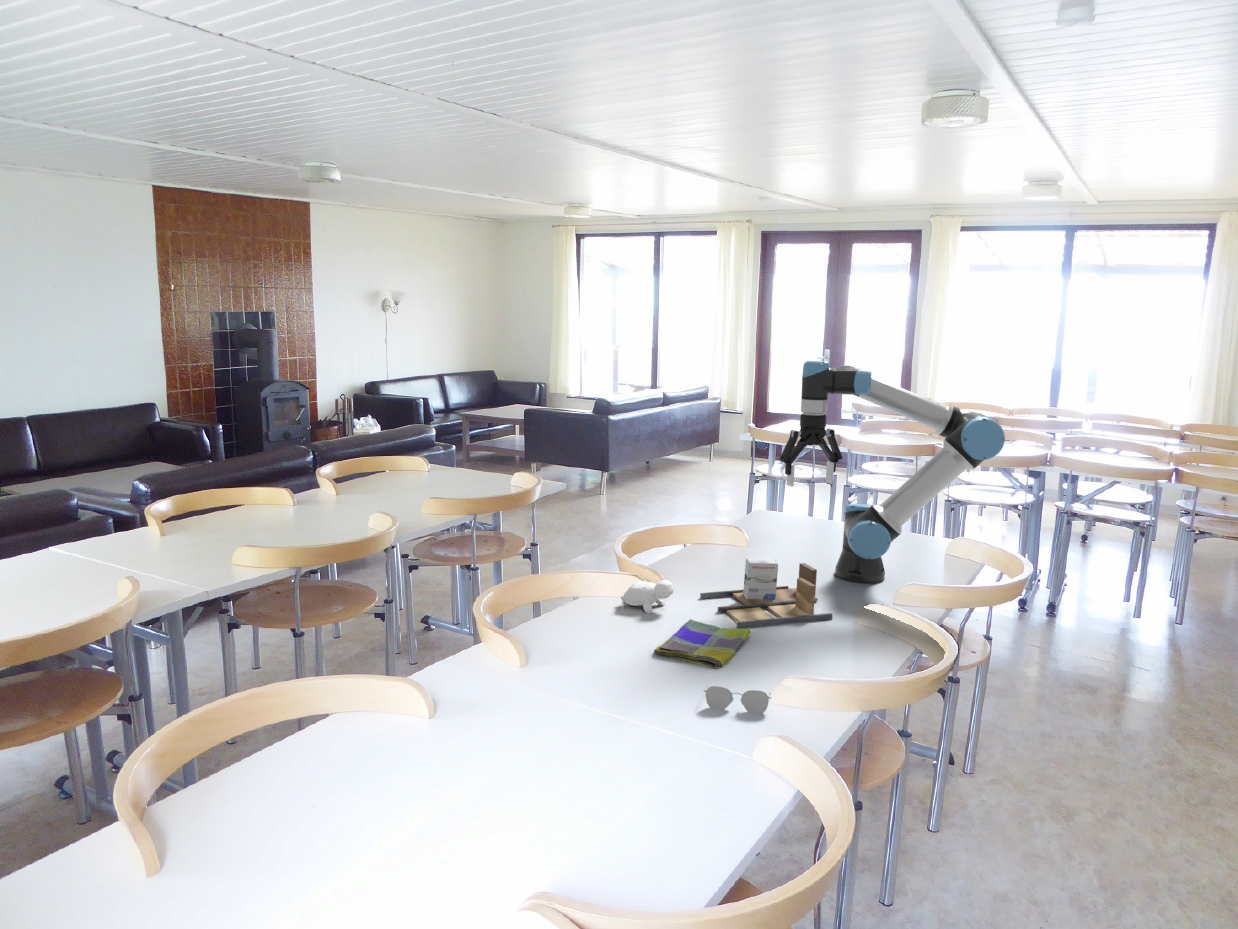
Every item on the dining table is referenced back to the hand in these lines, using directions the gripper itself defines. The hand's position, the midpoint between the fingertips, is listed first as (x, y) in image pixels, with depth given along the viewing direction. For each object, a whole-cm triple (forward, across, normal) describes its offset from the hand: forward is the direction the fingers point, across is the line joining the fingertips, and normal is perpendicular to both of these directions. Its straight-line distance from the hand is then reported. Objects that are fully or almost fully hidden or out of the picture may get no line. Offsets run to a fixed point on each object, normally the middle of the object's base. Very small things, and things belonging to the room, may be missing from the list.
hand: (809, 484), depth 253 cm
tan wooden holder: (+31, +16, +10) cm, 36 cm away
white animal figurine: (+31, +54, +6) cm, 62 cm away
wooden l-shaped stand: (+31, +24, +22) cm, 45 cm away
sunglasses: (+31, +58, +65) cm, 93 cm away
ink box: (+31, +21, +9) cm, 39 cm away
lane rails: (+31, +23, +16) cm, 42 cm away
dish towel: (+31, +51, +35) cm, 70 cm away
